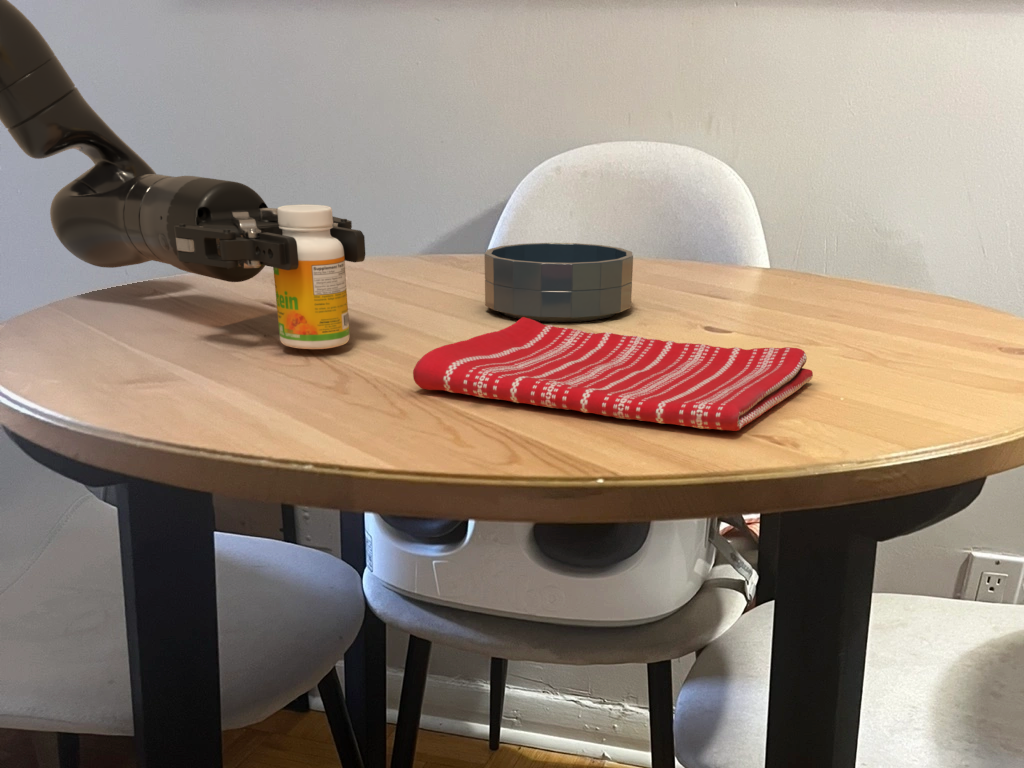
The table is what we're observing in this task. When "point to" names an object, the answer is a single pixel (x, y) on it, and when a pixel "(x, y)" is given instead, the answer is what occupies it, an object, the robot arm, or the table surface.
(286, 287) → the supplement bottle
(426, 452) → the table surface
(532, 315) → the fruit bowl
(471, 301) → the table surface
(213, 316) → the table surface
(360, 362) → the table surface
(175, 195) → the robot arm
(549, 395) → the dish towel
